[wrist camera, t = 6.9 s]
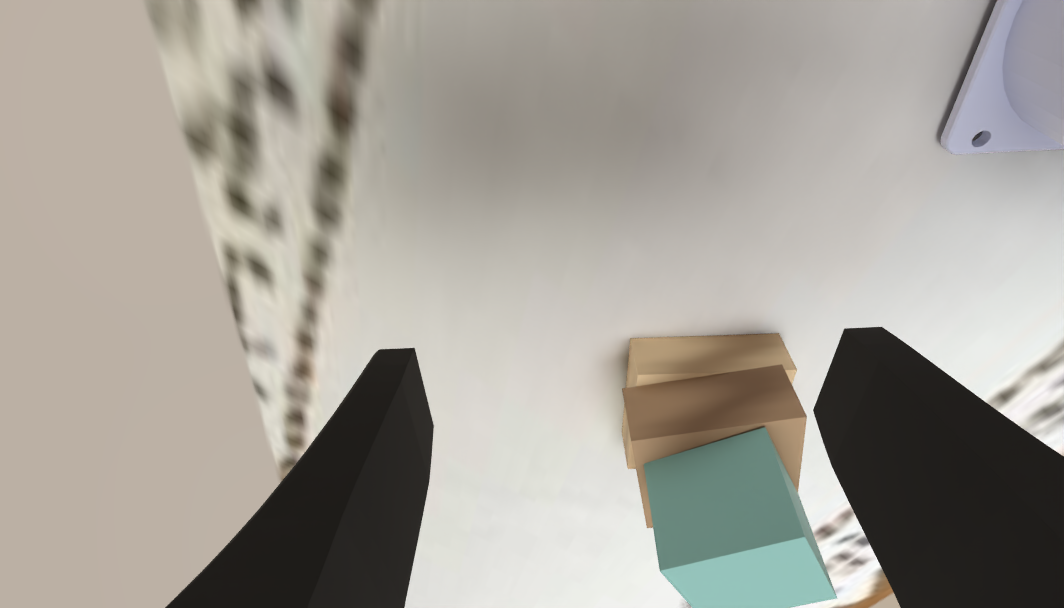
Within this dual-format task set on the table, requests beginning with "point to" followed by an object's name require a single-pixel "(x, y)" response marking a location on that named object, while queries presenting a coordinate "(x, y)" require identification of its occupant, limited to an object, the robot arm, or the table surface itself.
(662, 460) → the cube
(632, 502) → the table surface
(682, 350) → the tower bottom
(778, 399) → the tower top
